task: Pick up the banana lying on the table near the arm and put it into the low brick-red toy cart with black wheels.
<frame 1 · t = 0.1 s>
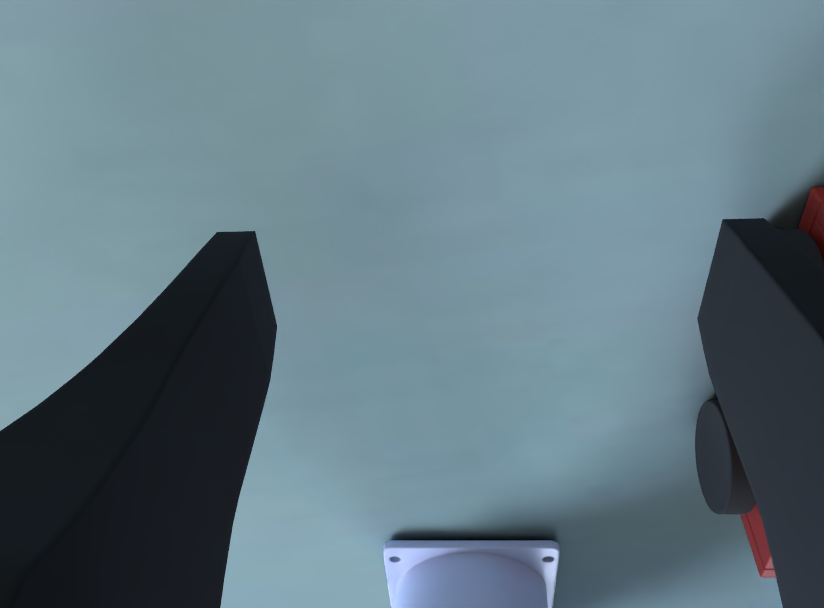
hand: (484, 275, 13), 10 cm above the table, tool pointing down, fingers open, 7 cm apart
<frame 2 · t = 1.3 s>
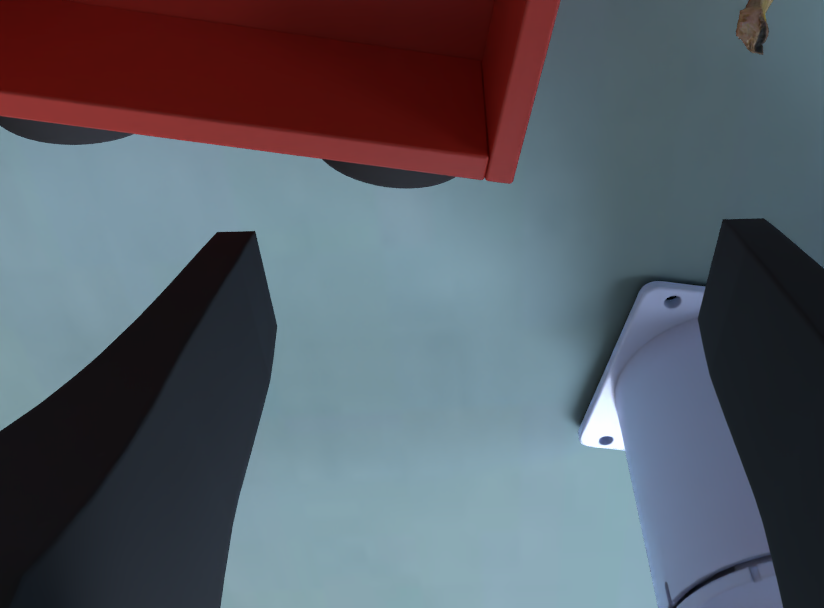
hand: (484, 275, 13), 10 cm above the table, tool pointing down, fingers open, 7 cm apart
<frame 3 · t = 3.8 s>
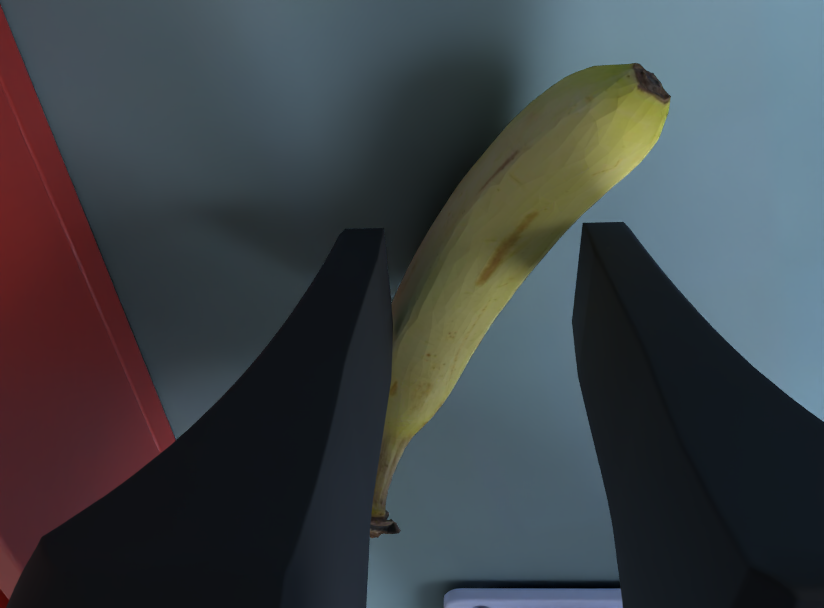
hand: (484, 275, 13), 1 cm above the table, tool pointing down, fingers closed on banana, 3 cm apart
banana: (474, 216, 14), on the table, touching gripper
when the fingers open (3 cm above the table, at t = 7.3 s): banana stays where it is, resting on cart.
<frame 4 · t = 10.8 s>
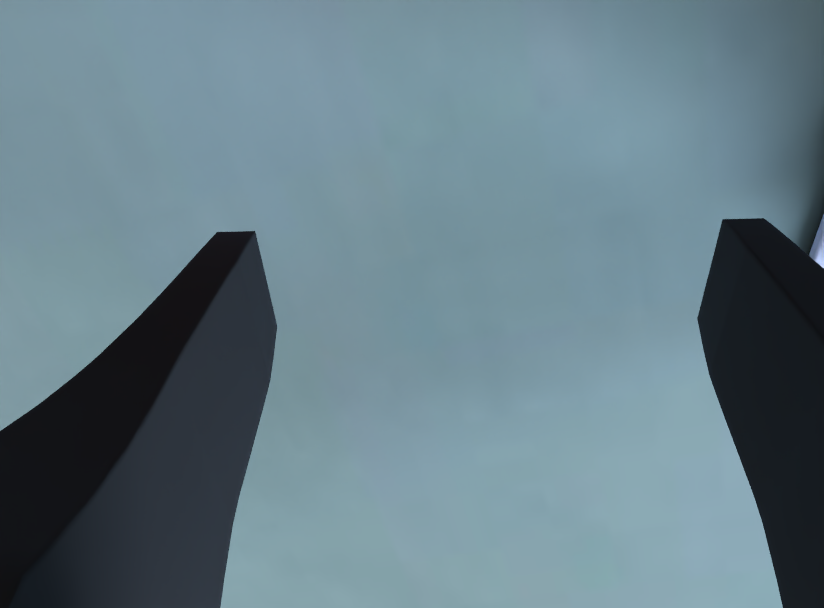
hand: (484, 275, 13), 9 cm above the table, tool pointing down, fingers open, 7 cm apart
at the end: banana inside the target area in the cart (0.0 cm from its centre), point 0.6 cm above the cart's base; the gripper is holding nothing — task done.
